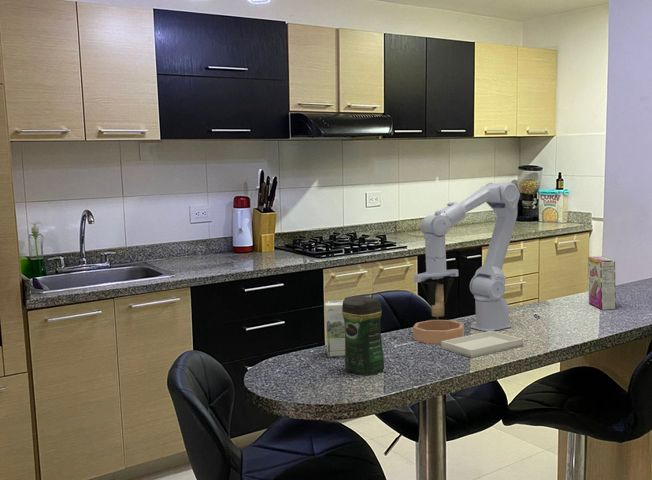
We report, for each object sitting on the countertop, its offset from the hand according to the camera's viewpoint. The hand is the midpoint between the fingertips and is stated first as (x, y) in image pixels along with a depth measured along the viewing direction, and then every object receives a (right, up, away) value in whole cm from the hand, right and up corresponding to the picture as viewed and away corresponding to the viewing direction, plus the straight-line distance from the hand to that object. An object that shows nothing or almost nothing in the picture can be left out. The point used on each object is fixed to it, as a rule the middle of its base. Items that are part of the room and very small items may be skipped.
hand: (437, 303), depth 186 cm
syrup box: (-29, -13, -11) cm, 34 cm away
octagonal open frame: (+1, -10, +1) cm, 10 cm away
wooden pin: (0, -3, 0) cm, 3 cm away
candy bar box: (+60, -4, +29) cm, 67 cm away
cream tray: (+10, -11, -12) cm, 19 cm away
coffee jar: (-23, -14, -27) cm, 38 cm away
